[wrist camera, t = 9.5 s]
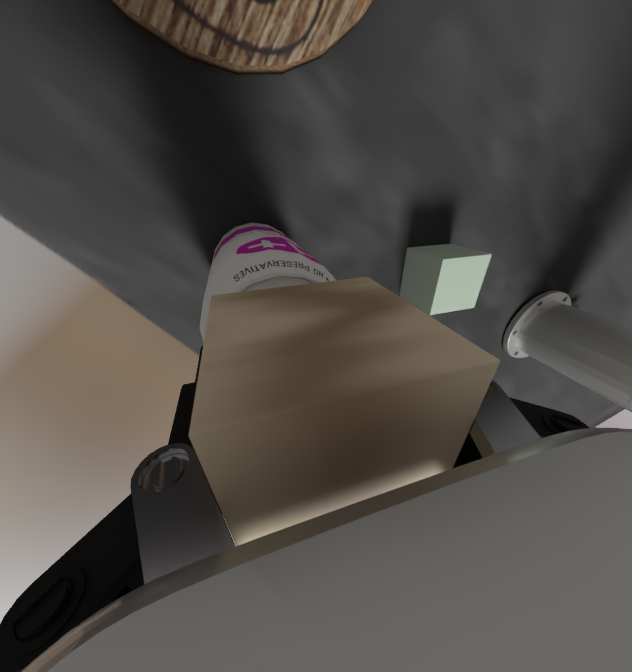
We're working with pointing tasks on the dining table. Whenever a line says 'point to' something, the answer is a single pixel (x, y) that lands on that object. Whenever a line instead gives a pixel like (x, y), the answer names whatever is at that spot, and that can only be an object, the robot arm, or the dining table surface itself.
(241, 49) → the trivet
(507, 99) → the dining table surface
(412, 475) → the beech cube
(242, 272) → the supplement can
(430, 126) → the dining table surface
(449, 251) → the sage cube
